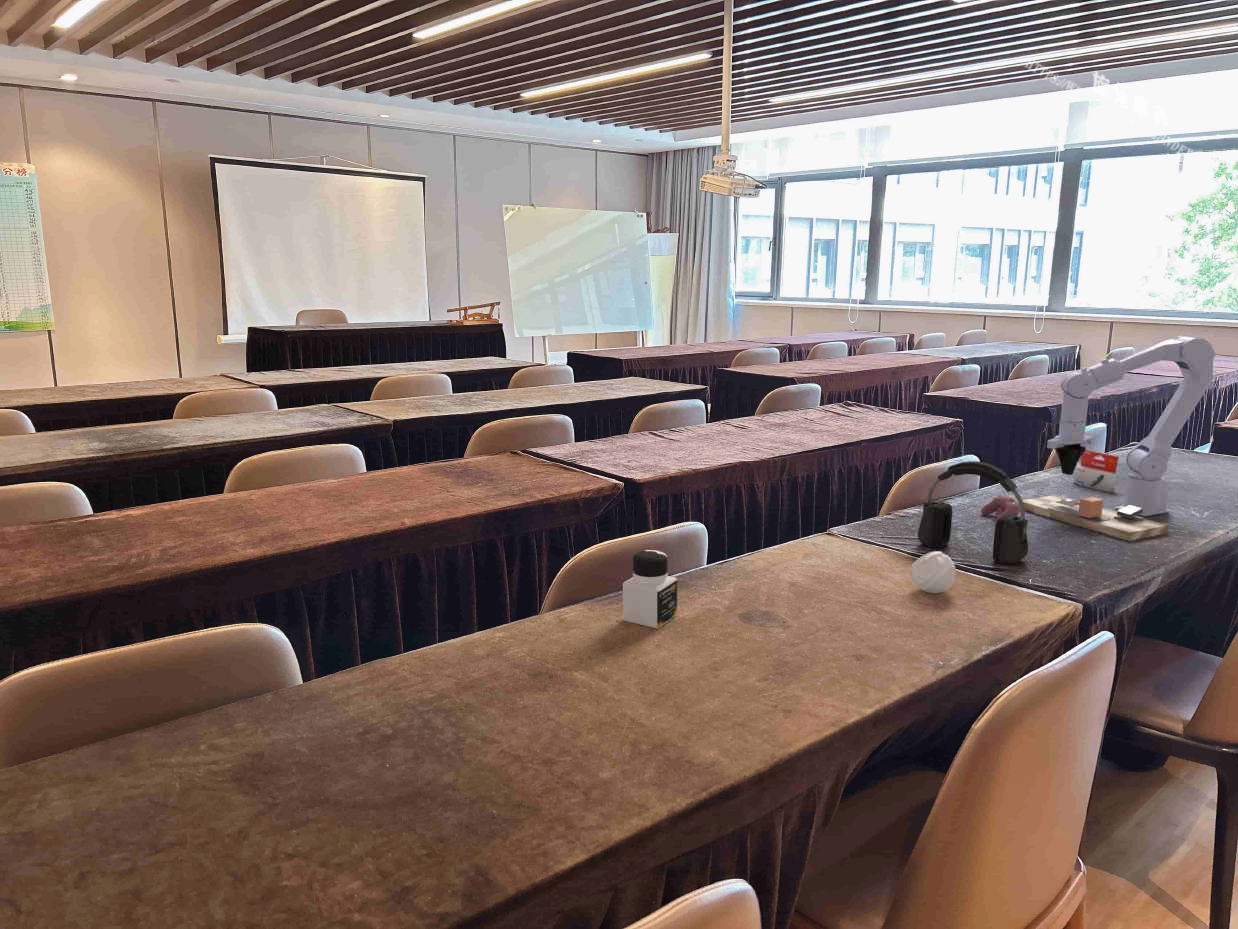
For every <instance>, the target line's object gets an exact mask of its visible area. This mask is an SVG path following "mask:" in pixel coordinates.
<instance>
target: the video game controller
mask: <svg viewBox="0 0 1238 929" xmlns="http://www.w3.org/2000/svg"><path fill="white" fill-rule="evenodd" d="M980 512H981V513H980V514H981V515H983V516H988V515H991V514H994V513H995V514H994V515H995V517H996V519H995V523H996V522H997V520H998V519H999V518H1001V517H1003V516H1005V515H1015V516H1018V515H1020V506H1019V505H1018V501H1017V499H1016V498H1013V497H1012V496H1009V495H1002V494H999V495H998V496H996V497H994V498H993V499H992V500H990V502H989V503H986V504H985V505H984V506H983V507H982V508H981V511H980Z"/></svg>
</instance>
